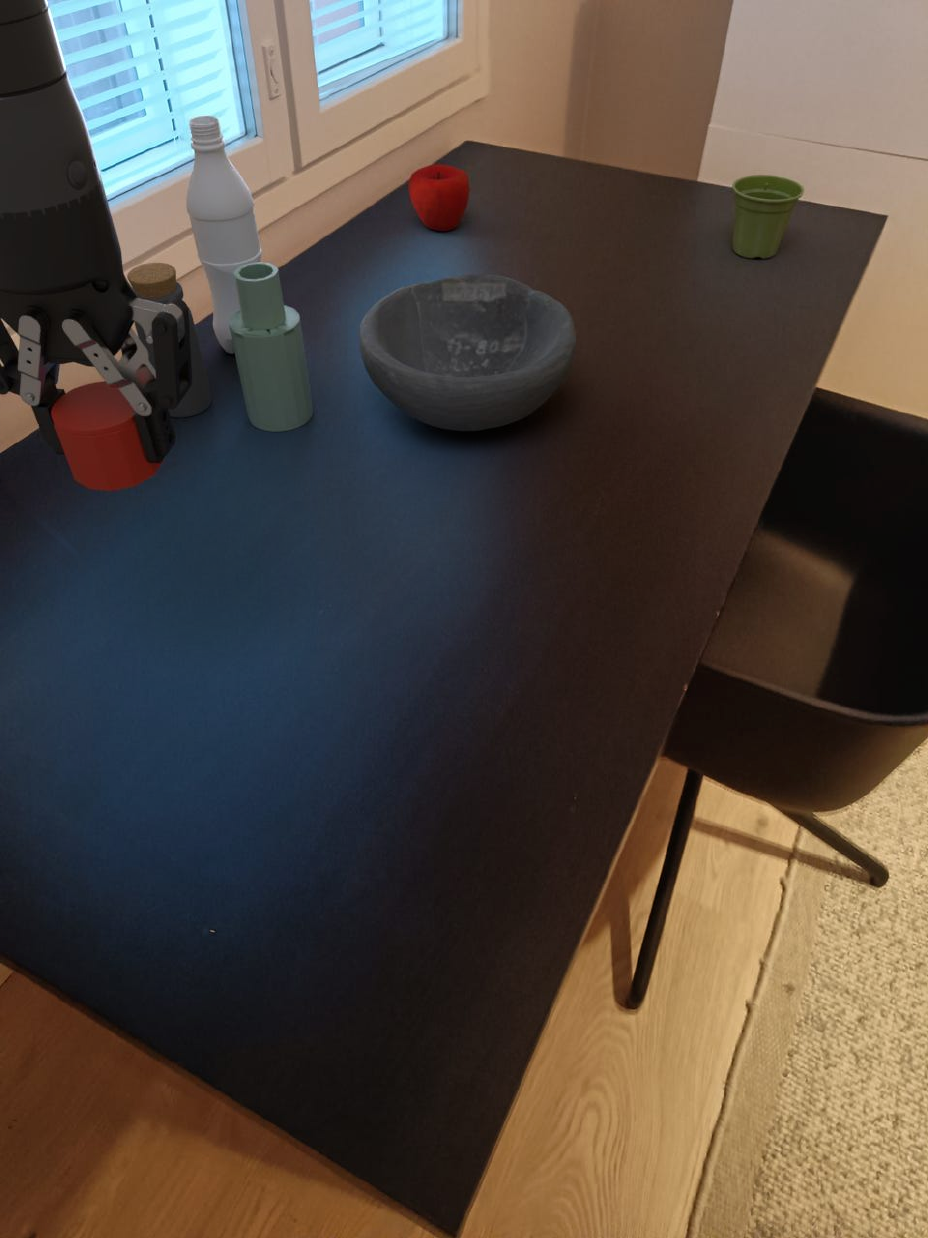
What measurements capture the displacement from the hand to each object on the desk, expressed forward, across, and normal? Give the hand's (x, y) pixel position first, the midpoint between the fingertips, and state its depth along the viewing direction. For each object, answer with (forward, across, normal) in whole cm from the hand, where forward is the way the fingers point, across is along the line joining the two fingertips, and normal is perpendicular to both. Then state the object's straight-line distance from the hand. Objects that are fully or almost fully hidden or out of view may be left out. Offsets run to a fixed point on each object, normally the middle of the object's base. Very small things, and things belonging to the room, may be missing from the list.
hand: (113, 450), depth 58 cm
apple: (+21, -6, -89) cm, 91 cm away
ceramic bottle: (+21, +3, -36) cm, 42 cm away
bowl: (+21, -17, -41) cm, 49 cm away
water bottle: (+21, +11, -50) cm, 56 cm away
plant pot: (+20, -51, -86) cm, 103 cm away
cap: (+1, 0, 0) cm, 1 cm away
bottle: (+21, +14, -37) cm, 45 cm away
